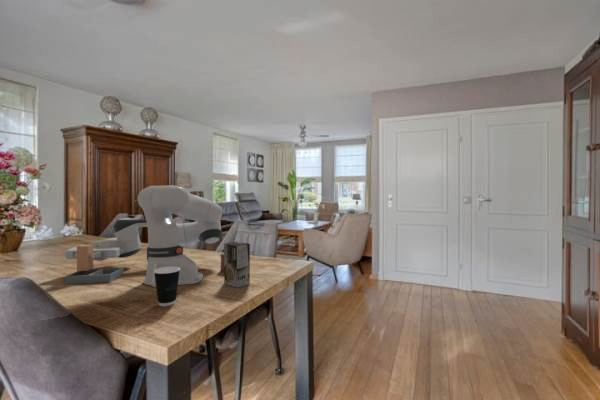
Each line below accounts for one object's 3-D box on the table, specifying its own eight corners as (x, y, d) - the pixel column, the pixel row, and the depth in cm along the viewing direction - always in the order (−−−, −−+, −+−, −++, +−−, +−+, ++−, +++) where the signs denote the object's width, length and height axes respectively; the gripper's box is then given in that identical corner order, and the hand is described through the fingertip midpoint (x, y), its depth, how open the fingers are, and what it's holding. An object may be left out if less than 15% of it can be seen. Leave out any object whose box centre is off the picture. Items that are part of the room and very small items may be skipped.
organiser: (123, 274, 127) (123, 267, 127) (110, 282, 116) (110, 274, 116) (82, 276, 125) (82, 269, 125) (64, 284, 113) (64, 276, 113)
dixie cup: (161, 298, 97) (161, 266, 97) (184, 299, 97) (184, 266, 97) (148, 307, 89) (148, 272, 89) (173, 308, 89) (173, 272, 89)
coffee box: (250, 284, 113) (250, 243, 113) (236, 288, 109) (236, 245, 108) (237, 279, 120) (237, 241, 119) (223, 283, 115) (223, 242, 115)
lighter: (238, 270, 134) (238, 249, 134) (234, 272, 131) (234, 250, 131) (223, 269, 137) (223, 248, 137) (219, 271, 134) (219, 249, 134)
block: (93, 268, 122) (93, 244, 122) (87, 270, 118) (87, 246, 118) (82, 268, 121) (82, 244, 121) (76, 270, 117) (76, 246, 117)
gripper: (125, 256, 134) (111, 263, 120) (77, 257, 131) (56, 265, 117) (125, 243, 134) (111, 248, 120) (77, 244, 131) (56, 249, 117)
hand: (83, 256), depth 119 cm, fingers closed on block, 4 cm apart
